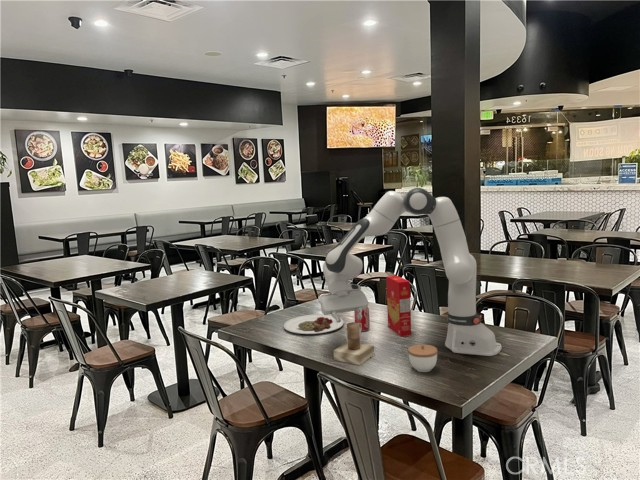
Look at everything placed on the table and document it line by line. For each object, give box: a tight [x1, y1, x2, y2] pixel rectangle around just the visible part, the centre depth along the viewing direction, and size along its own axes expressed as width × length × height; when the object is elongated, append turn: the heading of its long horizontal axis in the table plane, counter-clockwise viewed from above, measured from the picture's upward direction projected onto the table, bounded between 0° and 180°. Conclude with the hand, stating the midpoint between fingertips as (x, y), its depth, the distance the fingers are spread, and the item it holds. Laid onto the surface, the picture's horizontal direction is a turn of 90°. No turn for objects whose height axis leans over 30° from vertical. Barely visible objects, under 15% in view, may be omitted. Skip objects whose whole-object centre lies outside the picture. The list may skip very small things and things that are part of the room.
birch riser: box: [333, 341, 375, 366], centre depth 194 cm, size 12×12×4 cm
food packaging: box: [385, 274, 412, 337], centre depth 222 cm, size 15×5×25 cm, turn 14°
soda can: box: [353, 306, 371, 332], centre depth 228 cm, size 7×7×12 cm
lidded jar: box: [407, 343, 438, 373], centre depth 179 cm, size 11×11×9 cm
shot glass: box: [344, 327, 362, 343], centre depth 209 cm, size 7×7×7 cm
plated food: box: [283, 313, 345, 335], centre depth 237 cm, size 30×30×3 cm
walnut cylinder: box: [346, 321, 361, 350], centre depth 193 cm, size 5×5×10 cm
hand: (349, 320), depth 195 cm, fingers open, 8 cm apart
